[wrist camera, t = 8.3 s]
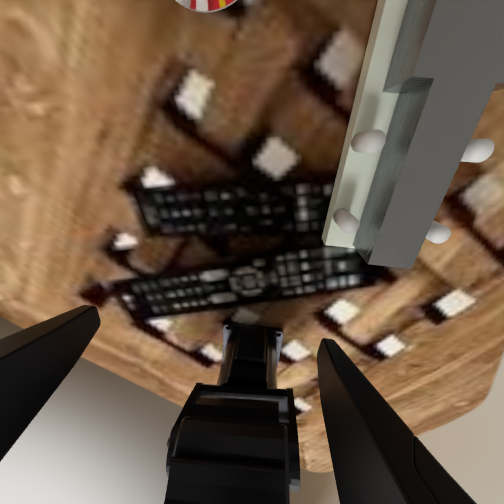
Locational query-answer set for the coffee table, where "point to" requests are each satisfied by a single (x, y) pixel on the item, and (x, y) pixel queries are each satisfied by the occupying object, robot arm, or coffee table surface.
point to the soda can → (205, 5)
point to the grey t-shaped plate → (429, 119)
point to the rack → (375, 134)
